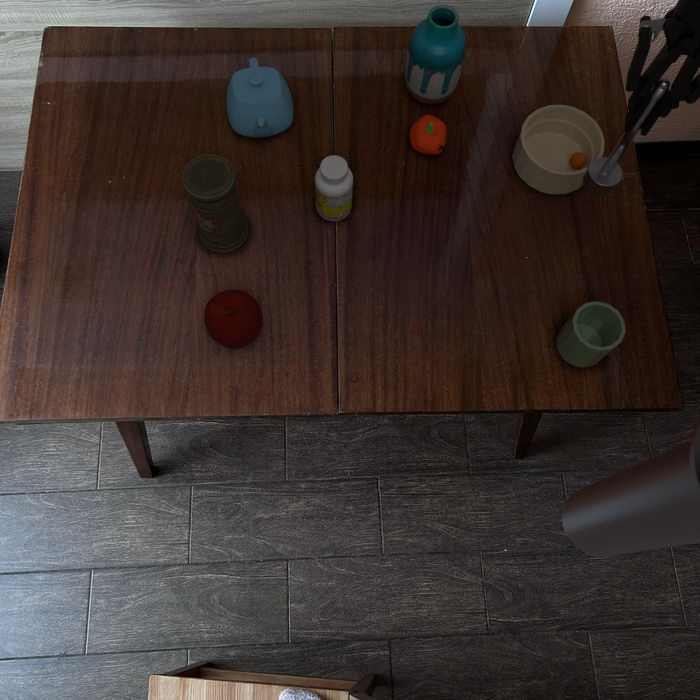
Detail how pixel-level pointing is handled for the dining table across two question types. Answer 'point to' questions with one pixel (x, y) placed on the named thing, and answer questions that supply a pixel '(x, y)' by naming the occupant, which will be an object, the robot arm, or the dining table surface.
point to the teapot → (259, 101)
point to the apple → (233, 319)
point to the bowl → (556, 148)
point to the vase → (435, 56)
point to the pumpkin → (428, 135)
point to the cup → (590, 334)
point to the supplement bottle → (333, 188)
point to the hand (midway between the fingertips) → (635, 125)
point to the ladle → (619, 150)
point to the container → (215, 203)
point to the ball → (578, 160)
